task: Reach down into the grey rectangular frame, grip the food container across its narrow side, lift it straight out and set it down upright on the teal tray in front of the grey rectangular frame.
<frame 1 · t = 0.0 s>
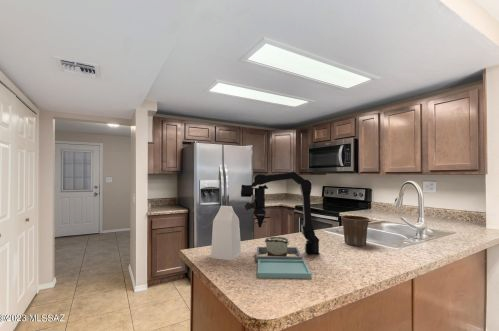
hand: (259, 225, 140), 15 cm above the countertop, tool pointing down, fingers open, 9 cm apart
tray: (282, 270, 112), on the countertop
food container: (278, 257, 130), resting in grey rectangular frame
grey rectangular frame: (278, 257, 130), on the countertop
milk: (226, 256, 134), on the countertop
plant pot: (355, 244, 156), on the countertop
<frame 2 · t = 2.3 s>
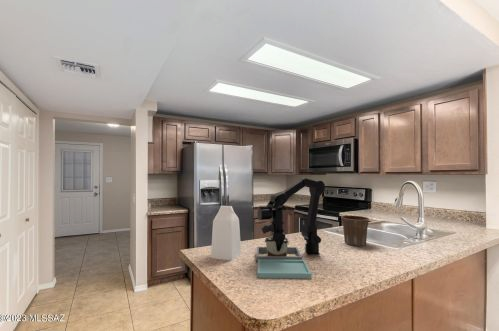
hand: (278, 249, 130), 4 cm above the countertop, tool pointing down, fingers closed on food container, 6 cm apart
food container: (278, 257, 130), resting in grey rectangular frame, touching gripper
everything else where it was.
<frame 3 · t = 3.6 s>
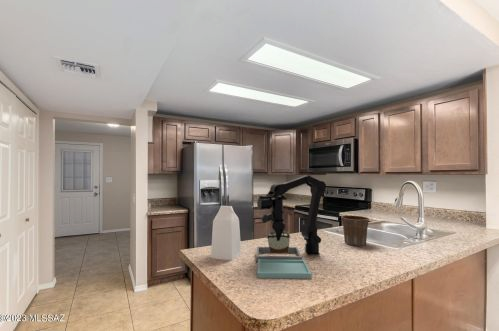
hand: (277, 239, 131), 9 cm above the countertop, tool pointing down, fingers closed on food container, 6 cm apart
food container: (279, 251, 132), point 3 cm above the countertop, touching gripper
everything else where it was.
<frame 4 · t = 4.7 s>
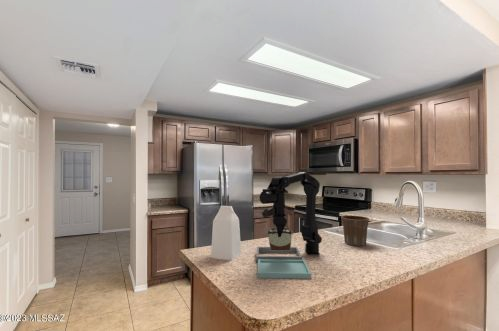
hand: (279, 235, 122), 13 cm above the countertop, tool pointing down, fingers closed on food container, 6 cm apart
food container: (280, 248, 123), point 7 cm above the countertop, touching gripper
everything else where it was.
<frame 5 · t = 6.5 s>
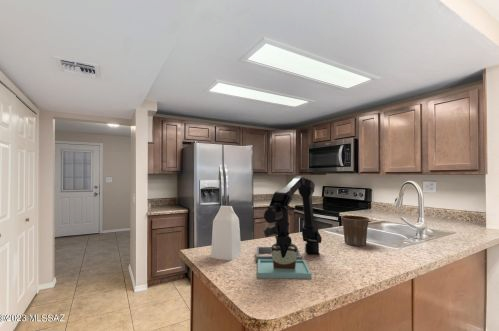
hand: (282, 255, 113), 7 cm above the countertop, tool pointing down, fingers closed on food container, 6 cm apart
food container: (284, 265, 114), point 1 cm above the countertop, touching gripper, tray
everything else where it was.
when the fingers open (7 cm above the countertop, at t = 7.3 s): food container stays where it is, resting on tray.
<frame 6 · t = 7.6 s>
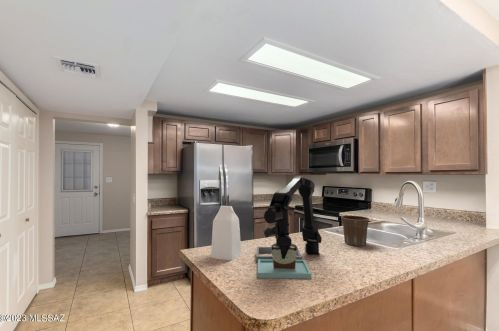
hand: (282, 255, 113), 6 cm above the countertop, tool pointing down, fingers open, 9 cm apart
food container: (284, 266, 114), point 1 cm above the countertop, touching gripper, tray
everything else where it was.
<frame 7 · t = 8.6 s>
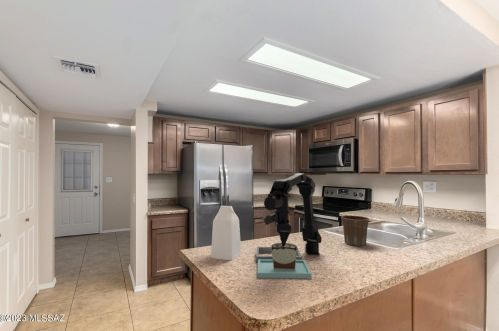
hand: (282, 243, 113), 12 cm above the countertop, tool pointing down, fingers open, 9 cm apart
food container: (284, 267, 114), point 1 cm above the countertop, touching tray
everything else where it was.
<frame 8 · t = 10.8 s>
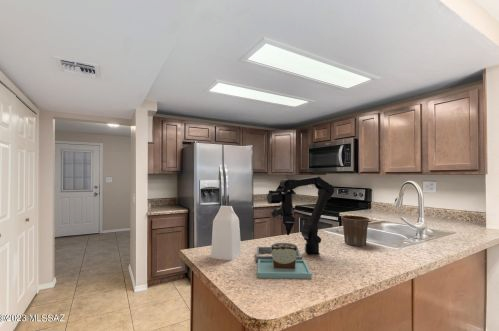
hand: (287, 233, 133), 12 cm above the countertop, tool pointing down, fingers open, 9 cm apart
nothing on the countertop moved.
at the end: food container inside the target area on the tray (2.0 cm from its centre), point 0.8 cm above the tray's base; food container tilted 0°; the gripper is holding nothing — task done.
